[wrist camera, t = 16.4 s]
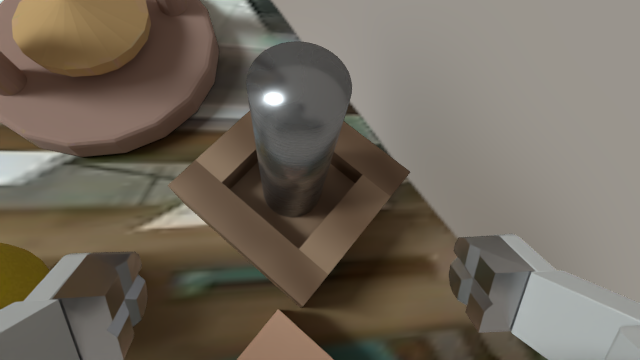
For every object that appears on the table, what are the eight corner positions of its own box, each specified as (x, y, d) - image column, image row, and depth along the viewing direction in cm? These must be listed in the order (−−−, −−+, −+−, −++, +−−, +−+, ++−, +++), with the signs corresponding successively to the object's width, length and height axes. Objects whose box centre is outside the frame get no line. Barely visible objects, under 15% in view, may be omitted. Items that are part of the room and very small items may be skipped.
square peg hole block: (300, 307, 24) (302, 306, 20) (184, 203, 26) (167, 185, 22) (393, 191, 27) (410, 172, 24) (286, 107, 29) (286, 77, 26)
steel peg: (295, 229, 24) (306, 150, 13) (250, 192, 24) (223, 85, 13) (332, 186, 25) (372, 81, 14) (289, 152, 26) (294, 25, 15)
